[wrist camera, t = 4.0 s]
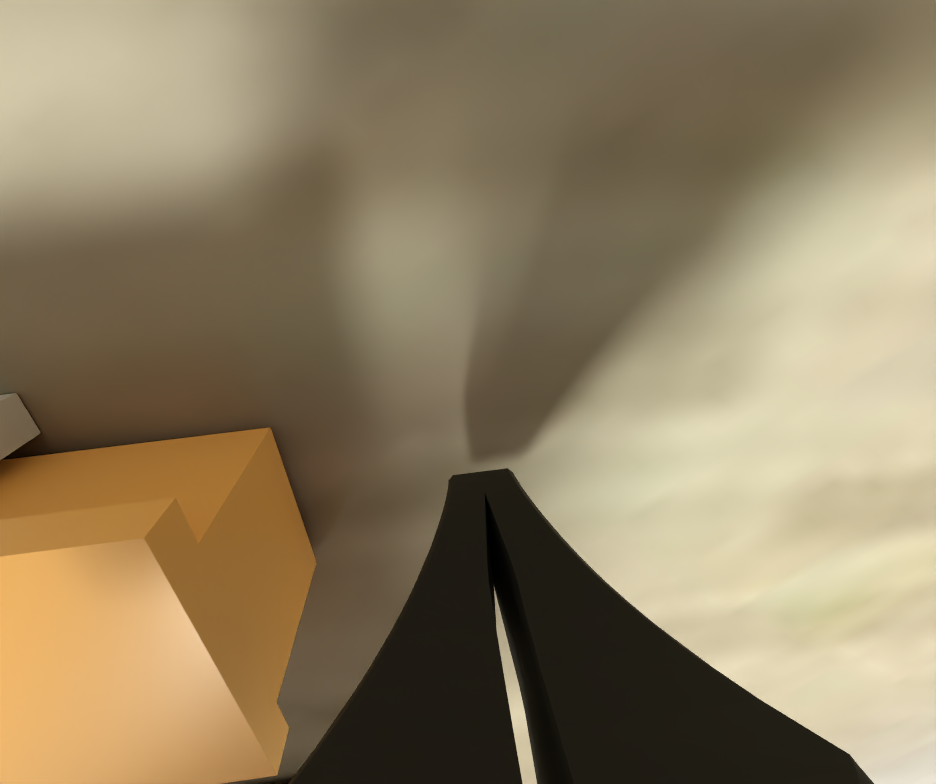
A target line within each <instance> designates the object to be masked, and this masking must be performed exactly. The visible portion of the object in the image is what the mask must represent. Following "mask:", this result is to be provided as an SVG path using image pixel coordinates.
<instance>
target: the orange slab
mask: <svg viewBox="0 0 936 784" xmlns="http://www.w3.org/2000/svg"><path fill="white" fill-rule="evenodd" d="M316 563H317V562H316V559H315V556H314V553H313V550H312V548H311V545H310V542H309V539H308V536H307V533H306V530H305V527H304V524H303V521H302V518H301V515H300V512H299V509H298V506H297V504H296V501H295V498H294V495H293V492H292V489H291V486H290V483H289V480H288V477H287V474H286V471H285V468H284V465H283V463H282V460H281V457H280V454H279V451H278V448H277V445H276V442H275V439H274V436H273V433H272V430H271V427H269V428H261V429H253V430H244V431H236V432H228V433H220V434H212V435H204V436H195V437H187V438H179V439H171V440H163V441H154V442H146V443H138V444H130V445H122V446H114V447H105V448H97V449H89V450H81V451H73V452H65V453H56V454H48V455H40V456H32V457H24V458H16V459H7V460H0V784H222V783H229V782H236V781H243V780H249V779H256V778H263V777H270V776H277V775H278V771H279V767H280V763H281V759H282V755H283V751H284V747H285V743H286V739H287V735H288V731H289V727H288V725H287V723H286V721H285V719H284V717H283V715H282V712H281V710H280V708H279V706H278V704H277V699H278V696H279V692H280V689H281V685H282V682H283V678H284V675H285V671H286V668H287V664H288V661H289V657H290V654H291V650H292V647H293V643H294V640H295V636H296V633H297V629H298V626H299V622H300V619H301V615H302V612H303V608H304V605H305V601H306V598H307V594H308V591H309V587H310V584H311V580H312V577H313V573H314V570H315V566H316Z"/></svg>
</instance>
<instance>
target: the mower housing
mask: <svg viewBox="0 0 936 784" xmlns="http://www.w3.org/2000/svg"><path fill="white" fill-rule="evenodd" d="M40 433H41V432H40V431H39V429H38V427H37V426H36V424H35V423H34V421H33V419H32V418H31V416H30V414H29V413H28V411H27V410H26V408H25V406H24V405H23V403H22V401H21V400H20V398H19V396H18V395H17V393H12V394H4V395H0V460H1V459H3V458H4V457H6V456H7V455H9V454H10V453H12V452H13V451H15V450H16V449H18V448H19V447H21V446H22V445H24V444H25V443H27V442H28V441H30V440H31V439H33V438H34V437H36V436H37V435H39V434H40Z"/></svg>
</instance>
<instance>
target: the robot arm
mask: <svg viewBox="0 0 936 784" xmlns="http://www.w3.org/2000/svg"><path fill="white" fill-rule="evenodd" d="M494 587H495V591H496V595H497V599H498V603H499V607H500V611H501V615H502V619H503V623H504V627H505V631H506V635H507V639H508V643H509V647H510V651H511V655H512V659H513V663H514V667H515V670H516V674H517V678H518V682H519V686H520V691H521V695H522V700H523V705H524V709H525V714H526V720H527V726H528V732H529V738H530V744H531V750H532V755H533V761H534V767H535V773H536V779H537V784H874V783H873V782H872V781H871V780H870V778H869V777H868V776H867V775H866V774H865V773H864V771H863V770H862V769H861V768H860V767H859V766H858V764H857V763H856V762H855V761H854V759H853V758H852V757H851V756H850V755H849V754H848V753H846V752H845V751H843V750H841V749H840V748H838V747H836V746H835V745H833V744H832V743H830V742H828V741H827V740H825V739H823V738H822V737H820V736H818V735H817V734H815V733H814V732H812V731H810V730H809V729H807V728H805V727H804V726H802V725H800V724H799V723H797V722H796V721H794V720H792V719H791V718H789V717H787V716H786V715H784V714H782V713H781V712H779V711H778V710H776V709H774V708H773V707H771V706H769V705H768V704H766V703H765V702H763V701H761V700H760V699H758V698H757V697H755V696H754V695H752V694H751V693H749V692H748V691H746V690H745V689H744V688H742V687H741V686H739V685H738V684H736V683H735V682H733V681H732V680H730V679H729V678H727V677H726V676H724V675H723V674H722V673H720V672H719V671H717V670H716V669H714V668H713V667H711V666H710V665H709V664H707V663H706V662H705V661H703V660H702V659H701V658H699V657H698V656H697V655H695V654H694V653H693V652H691V651H690V650H689V649H687V648H686V647H685V646H683V645H682V644H681V643H679V642H678V641H677V640H675V639H674V638H673V637H671V636H670V635H669V634H667V633H666V632H665V631H663V630H662V629H661V628H659V627H658V626H657V625H655V624H654V623H653V622H652V621H650V620H649V619H648V618H647V617H646V616H644V615H643V614H642V613H641V612H640V611H638V610H637V609H636V608H635V607H634V606H632V605H631V604H630V603H629V602H628V601H626V600H625V599H624V598H623V597H622V596H621V595H620V594H619V593H618V592H616V591H615V590H614V589H613V588H612V587H611V586H610V585H609V584H607V583H606V582H605V581H604V580H603V579H602V578H601V577H600V576H599V575H598V574H597V573H596V572H595V571H594V570H593V569H592V568H591V567H590V566H589V565H588V564H587V563H586V562H585V561H584V560H583V559H582V558H581V557H580V556H579V555H578V554H577V553H576V552H575V551H574V550H573V549H572V548H571V547H570V546H569V545H568V543H567V542H566V541H565V540H564V539H563V538H562V537H561V536H560V535H559V533H558V532H557V531H556V530H555V529H554V528H553V526H552V525H551V524H550V523H549V522H548V520H547V519H546V518H545V517H544V516H543V515H542V513H541V512H540V511H539V510H538V508H537V507H536V506H535V504H534V503H533V502H532V500H531V499H530V498H529V496H528V495H527V494H526V492H525V491H524V489H523V488H522V487H521V485H520V484H519V482H518V480H517V479H516V477H515V476H514V474H513V472H512V471H510V470H509V469H508V468H507V469H499V470H491V471H483V472H475V473H467V474H459V475H453V476H452V477H451V478H450V479H449V483H448V491H447V496H446V501H445V505H444V509H443V512H442V516H441V519H440V522H439V525H438V528H437V531H436V534H435V537H434V539H433V542H432V545H431V548H430V550H429V553H428V555H427V558H426V560H425V562H424V565H423V567H422V569H421V572H420V574H419V576H418V579H417V581H416V583H415V585H414V588H413V590H412V592H411V594H410V596H409V598H408V600H407V602H406V604H405V606H404V608H403V610H402V612H401V614H400V616H399V617H398V619H397V621H396V623H395V625H394V627H393V629H392V631H391V632H390V634H389V636H388V637H387V639H386V641H385V643H384V644H383V646H382V648H381V649H380V651H379V653H378V655H377V656H376V658H375V660H374V661H373V663H372V665H371V666H370V668H369V670H368V671H367V673H366V674H365V676H364V678H363V679H362V681H361V682H360V684H359V685H358V687H357V688H356V690H355V691H354V693H353V694H352V696H351V697H350V699H349V700H348V702H347V703H346V705H345V706H344V707H343V709H342V710H341V712H340V713H339V715H338V716H337V718H336V719H335V720H334V722H333V723H332V725H331V726H330V728H329V729H328V731H327V732H326V734H325V735H324V736H323V738H322V739H321V741H320V742H319V744H318V745H317V746H316V748H315V749H314V751H313V752H312V753H311V755H310V756H309V757H308V759H307V760H306V761H305V763H304V764H303V765H302V767H301V768H300V769H299V770H298V772H297V773H296V774H295V776H294V777H293V778H292V779H291V781H290V782H289V783H288V784H522V779H521V773H520V767H519V762H518V756H517V750H516V744H515V739H514V733H513V727H512V721H511V715H510V709H509V703H508V697H507V692H506V686H505V680H504V674H503V668H502V662H501V656H500V650H499V644H498V637H497V631H496V615H495V599H494Z"/></svg>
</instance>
